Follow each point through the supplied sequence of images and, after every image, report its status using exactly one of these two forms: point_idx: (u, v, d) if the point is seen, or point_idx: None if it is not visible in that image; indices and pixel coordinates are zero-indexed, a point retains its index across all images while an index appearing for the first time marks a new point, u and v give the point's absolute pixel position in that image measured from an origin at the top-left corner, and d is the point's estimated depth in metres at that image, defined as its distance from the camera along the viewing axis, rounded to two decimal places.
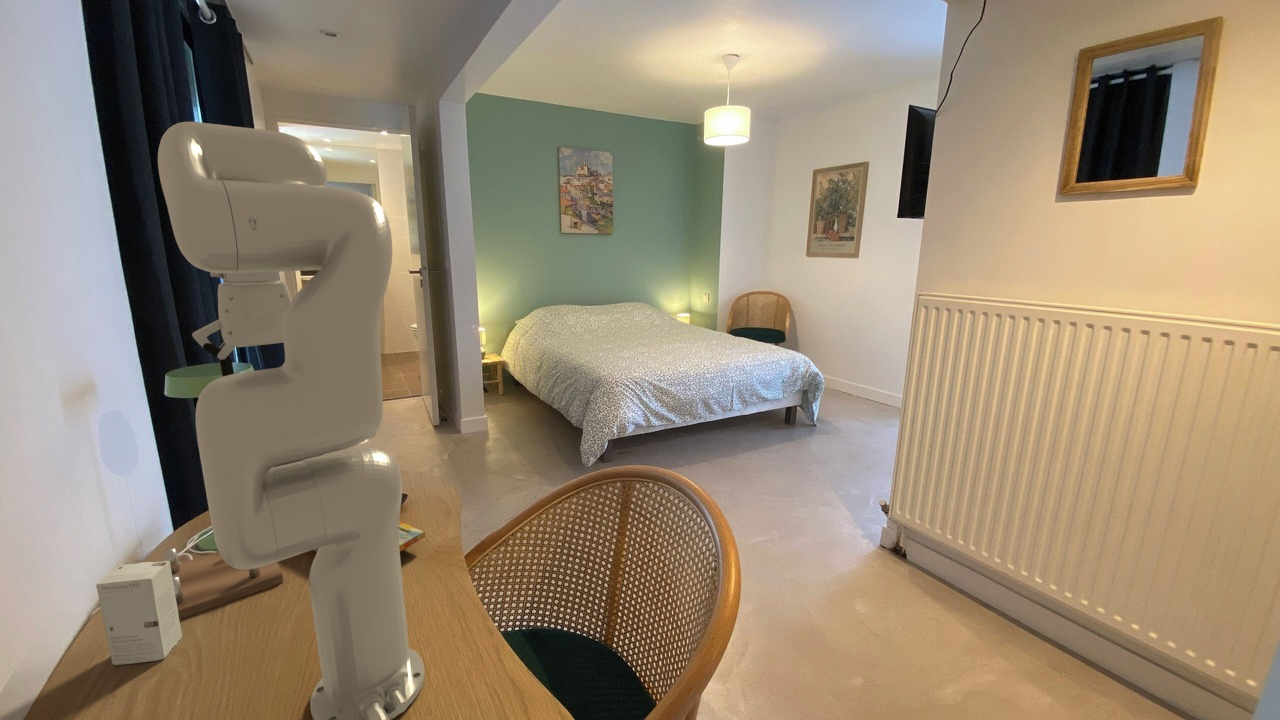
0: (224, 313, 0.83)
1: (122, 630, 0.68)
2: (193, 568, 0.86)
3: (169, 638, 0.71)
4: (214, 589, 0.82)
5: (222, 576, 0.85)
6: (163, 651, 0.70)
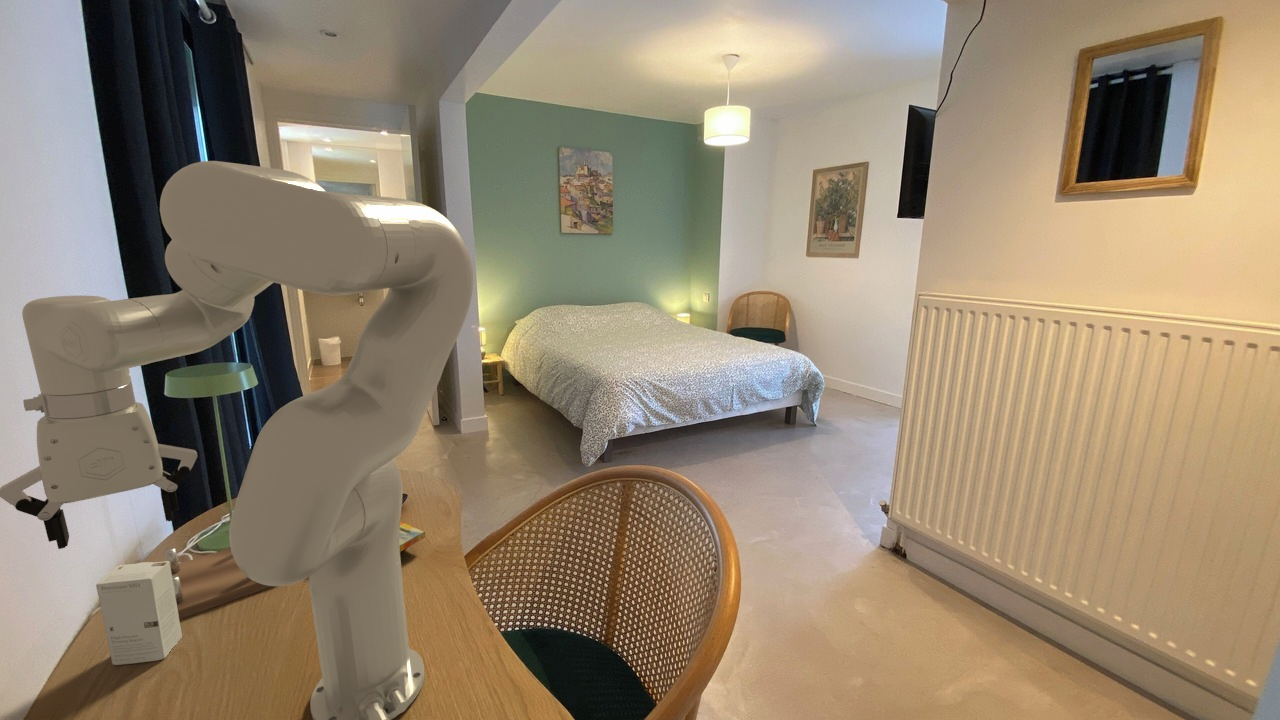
0: (43, 462, 0.60)
1: (122, 630, 0.68)
2: (193, 568, 0.86)
3: (169, 638, 0.71)
4: (214, 589, 0.82)
5: (222, 576, 0.85)
6: (163, 651, 0.70)
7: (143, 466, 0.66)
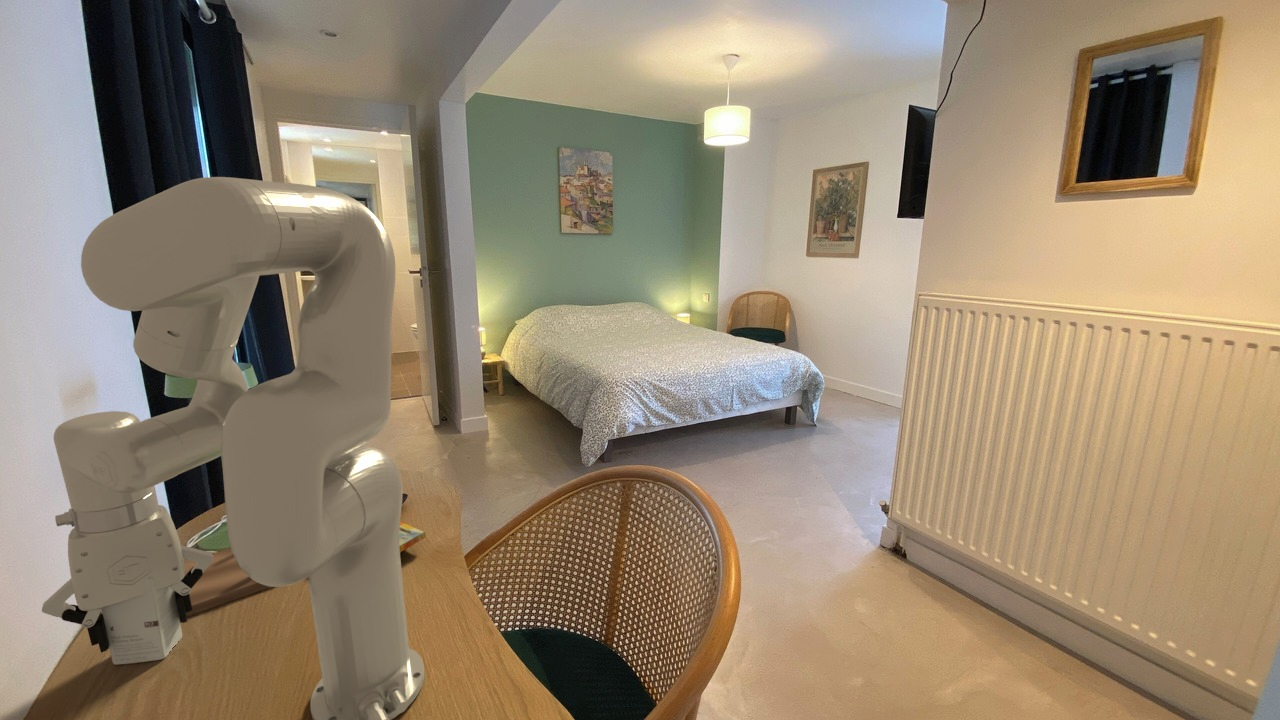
0: (75, 574, 0.63)
1: (122, 629, 0.68)
2: None
3: (169, 637, 0.71)
4: (214, 589, 0.82)
5: (222, 576, 0.85)
6: (163, 651, 0.70)
7: (167, 568, 0.69)
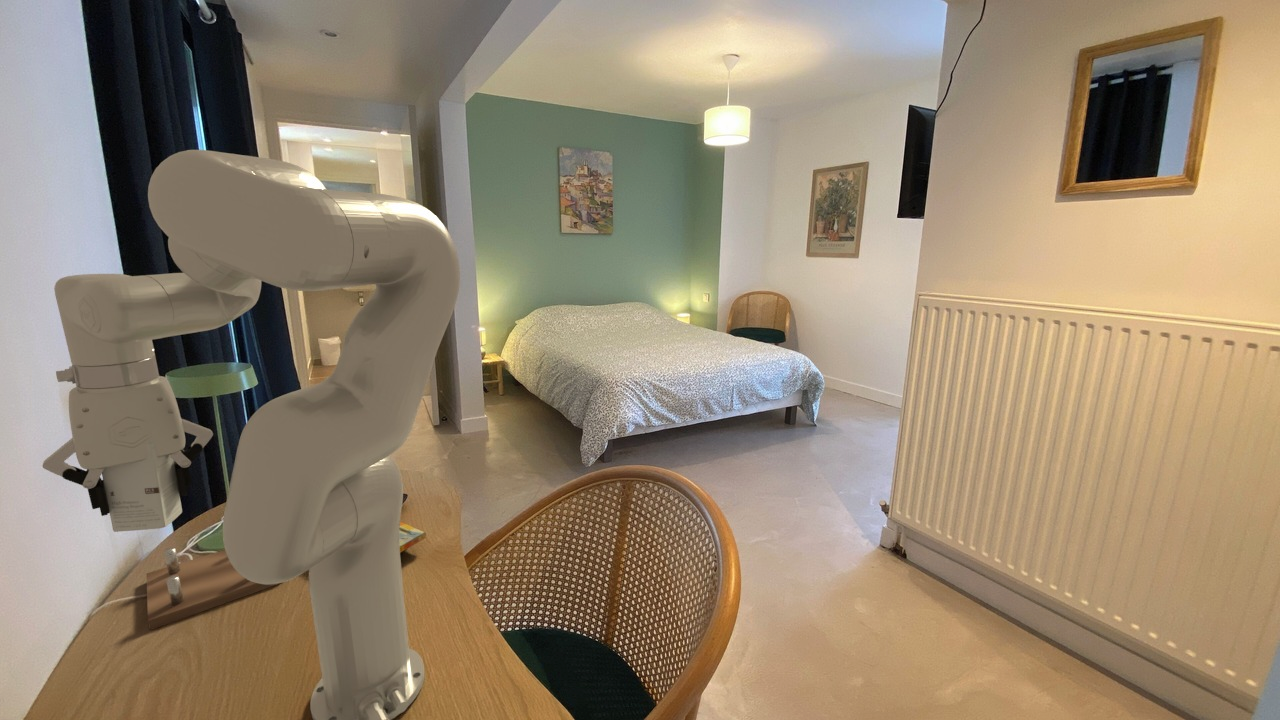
0: (76, 429, 0.64)
1: (123, 495, 0.69)
2: (193, 568, 0.86)
3: (169, 508, 0.72)
4: (214, 589, 0.82)
5: (222, 576, 0.85)
6: (164, 519, 0.71)
7: (168, 435, 0.70)
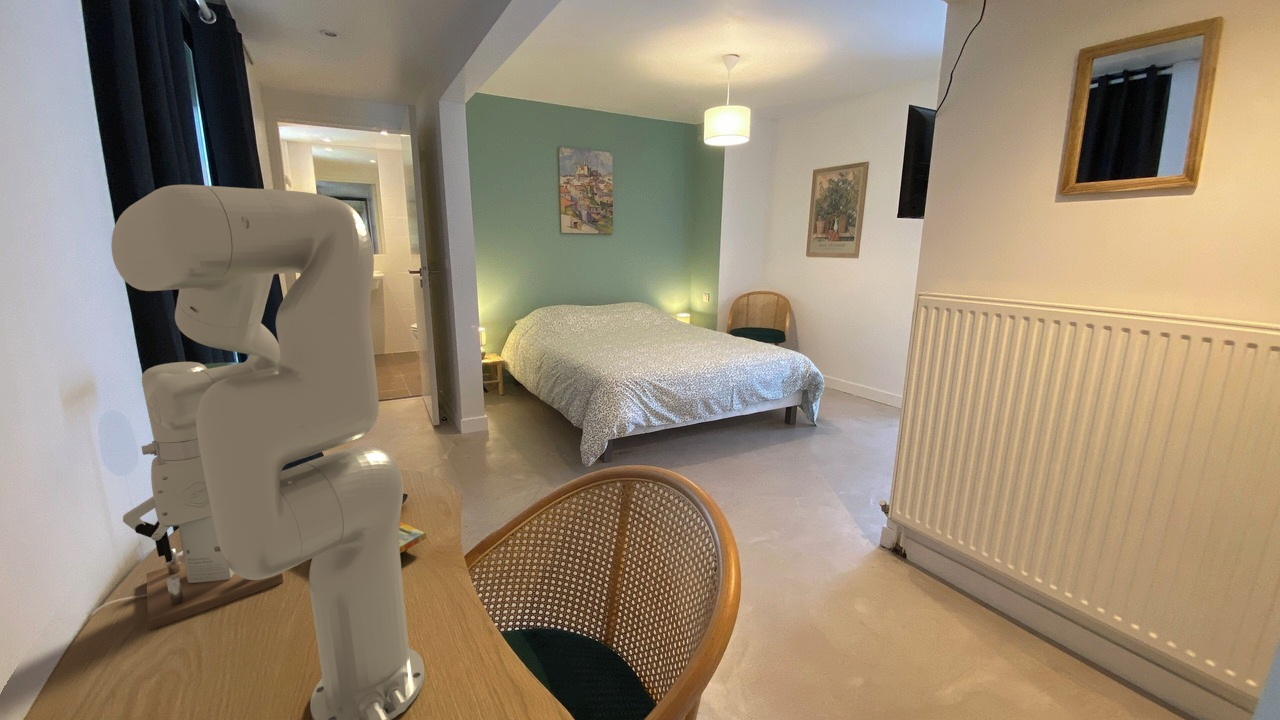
0: (157, 494, 0.77)
1: (196, 553, 0.82)
2: None
3: None
4: (214, 589, 0.82)
5: None
6: (229, 572, 0.84)
7: None
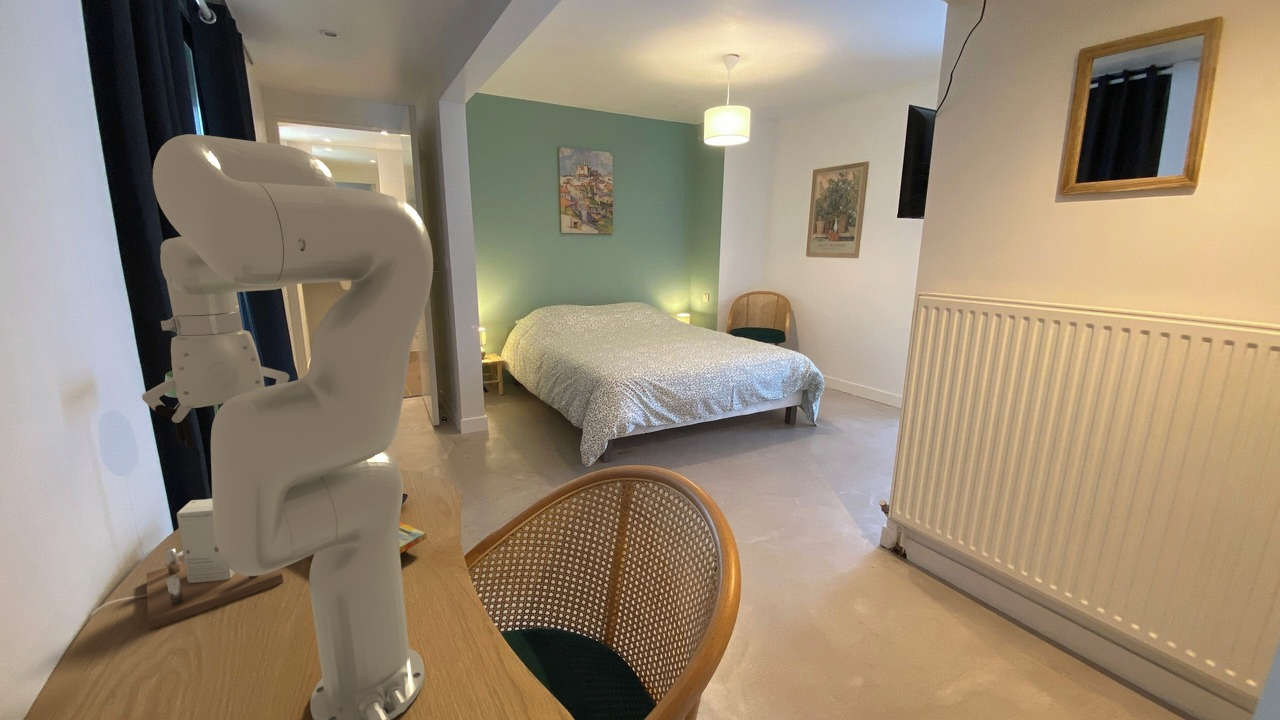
0: (178, 371, 0.74)
1: (196, 553, 0.82)
2: None
3: None
4: (214, 589, 0.82)
5: None
6: (229, 572, 0.84)
7: (251, 380, 0.79)
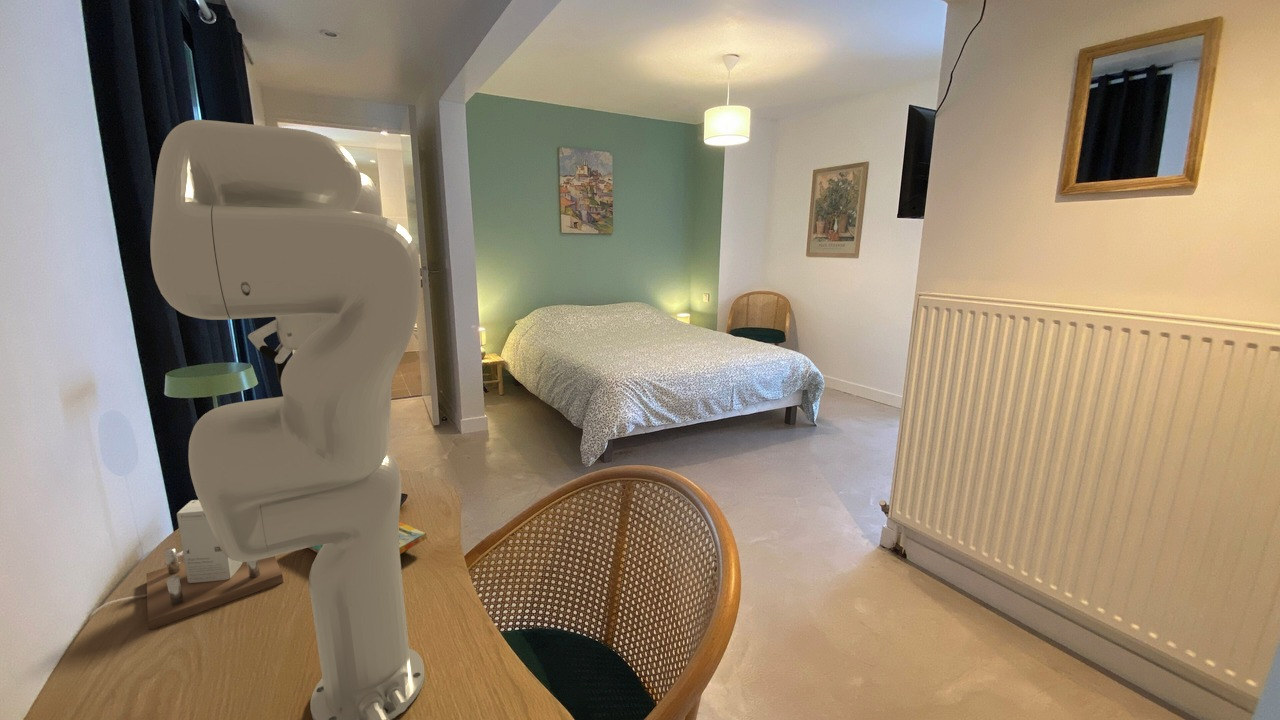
0: None
1: (196, 553, 0.82)
2: None
3: (233, 562, 0.85)
4: (214, 589, 0.82)
5: None
6: (229, 572, 0.84)
7: None
